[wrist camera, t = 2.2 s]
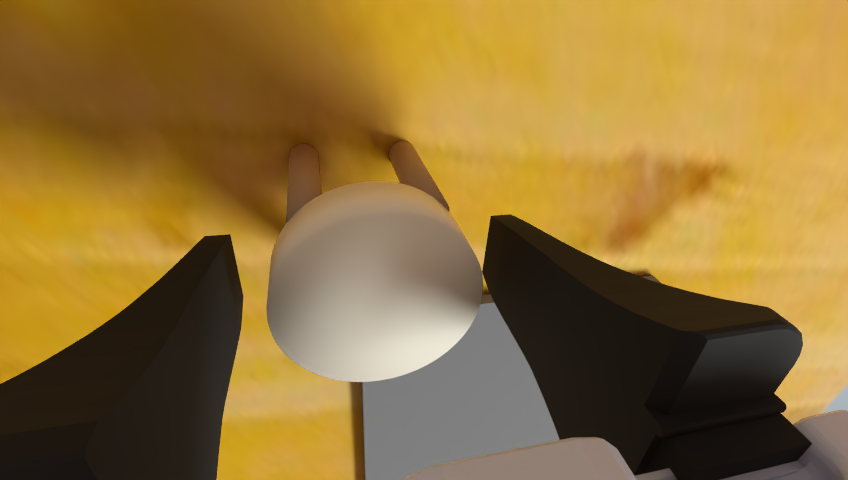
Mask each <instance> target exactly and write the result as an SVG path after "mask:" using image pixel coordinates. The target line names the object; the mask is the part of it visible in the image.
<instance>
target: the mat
mask: <svg viewBox="0 0 848 480" xmlns="http://www.w3.org/2000/svg"><path fill="white" fill-rule="evenodd" d="M642 277H643V278H645V279H649V280H652V281H655V282H658V283H660V282H659V281H658V280H657V279H656V278H655V277H654V276H653V275H651V276H642ZM362 411H363V442H364V473H365V480H403V479H404V478H405V477H407V476H408V475H410V474H412V473H415V472H418V471H421V470H424V469H427V468H429V467H432V466H435V465H438V464H442V463H447V462H452V461H457V460H462V459H467V458H472V457H477V456H482V455H487V454H492V453H497V452H502V451H507V450H512V449H517V448H523V447H528V446H533V445H538V444H543V443H548V442H553V441H558V440H560V439H559V437H558V434H557V431H556V428H555V426H554V423H553V421H552V418H551V416H550V413H549V411H548V408H547V406H546V403H545V400H544V398H543V396H542V393H541V391H540V389H539V386H538V384H537V382H536V379H535V377H534V375H533V372H532V370H531V368H530V366H529V364H528V362H527V360H526V358H525V356H524V355H523V353H522V351H521V349H520V347H519V346H518V344H517V342H516V340H515V339H514V337H513V335H512V333H511V332H510V330H509V328H508V326H507V325H506V323H505V321H504V319H503V318H502V316H501V314H500V312H499V310H498V308H497V307H496V305H495V303H494V301H493V299H492V297H491V294H484V295H482V299H481V303H480V307H479V310H478V312H477V315H476V317H475V319H474V321H473V322H472V324H471V326H470V327H469V329H468V330H467V332H466V333H465V334H464V336H463V337H462V338H461V339H460V340H459V341H458V342H457V343H456V344H455V345H454V346H453V347H452V348H451V349H450V350H449V351H447V352H446V353H445V354H443V355H442V356H441V357H439V358H438V359H436V360H435V361H433V362H431V363H430V364H428V365H426V366H424V367H422V368H420V369H418V370H416V371H413V372H410V373H408V374H405V375H402V376H398V377H395V378H391V379H385V380H380V381H371V382H362Z"/></svg>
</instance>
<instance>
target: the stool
mask: <svg viewBox="0 0 848 480" xmlns="http://www.w3.org/2000/svg"><path fill="white" fill-rule="evenodd" d="M389 159H390V161H391V163H392V165H393V168H394V170H395V172H396V174H397V177H398V179H399V181H400V183H396V182H389V181H364V182H356V183H352V184H347V185H343V186H340V187H337V188H335V189H332V190H329V191H327V192H325V193H323V194H322V189H321V179H320V169H319V158H318V153H317V151H316V150H315V149H314V148H313V147H312V146H310V145H308V144H299V145H296V146H295V147H293V148H292V150H291V151H290V155H289V174H288V195H287V216H286V224H285V226H284V227H283V229H282V231H281V232H280V234H279V236H278V238H277V240H276V243H275V245H274V248H273V252H272V256H271V266H270V276H269V287H268V298H267V320H268V324H269V327H270V331H271V333H272V335H273V337H274V339H275V341H276V343H277V344H278V346H279V347H280V349H281V350H282V351H283V352H284V353H285V354H286V355H287V356H288V357H289V358H290V359H291V360H292V361H294V362H295V363H296V364H298V365H299V366H301V367H303V368H304V369H306V370H308V371H310V372H312V373H315V374H317V375H320V376H323V377H327V378H330V379H335V380H340V381H350V382H371V381H380V380H385V379H391V378H395V377H398V376H402V375H405V374H408V373H410V372H413V371H416V370H418V369H420V368H422V367H424V366H426V365H428V364H430V363H431V362H433V361H435V360H436V359H438V358H439V357H441V356H442V355H443V354H445V353H446V352H447V351H449V350H450V349H451V348H452V347H453V346H454V345H455V344H456V343H457V342H458V341H459V340H460V339H461V338H462V337H463V336H464V334H465V333H466V332H467V330H468V329H469V327H470V326H471V324H472V322H473V321H474V319H475V317H476V315H477V312H478V310H479V307H480V303H481V299H482V293H483V278H482V272H481V268H480V264H479V262H478V260H477V258H476V255H475V253H474V252H473V250H472V248H471V247H470V245H469V243H468V242H467V240H466V238H465V236H464V235H463V233H462V231H461V230H460V228H459V226H458V225H457V223H456V221H455V220H454V218H453V217H452V215H451V214H450V212H449V206H448V204H447V202H446V201H445V199H444V197H443V196H442V194H441V192H440V191H439V189H438V187H437V186H436V184H435V182H434V181H433V179H432V177H431V176H430V174H429V172H428V171H427V169H426V167H425V166H424V164H423V162H422V161H421V159H420V157H419V155H418V154H417V152H416V150H415V149H414V147H413V146H412V144H410V143H409V142H407V141H399V142H396V143H395V144H393V145H392V146H391V148H390V150H389Z"/></svg>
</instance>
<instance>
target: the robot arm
mask: <svg viewBox="0 0 848 480" xmlns="http://www.w3.org/2000/svg"><path fill="white" fill-rule="evenodd" d="M482 273H483V275H484V278H485V281H486V284H487V287H488V289H489V292H490V294H491V297H492V299H493V301H494V303H495V305H496V307H497V308H498V310H499V312H500V314H501V316H502V318H503V319H504V321H505V323H506V325H507V326H508V328H509V330H510V332H511V333H512V335H513V337H514V339H515V340H516V342H517V344H518V346H519V347H520V349H521V351H522V353H523V355H524V356H525V358H526V360H527V362H528V364H529V366H530V368H531V370H532V372H533V375H534V377H535V379H536V382H537V384H538V386H539V389H540V391H541V393H542V396H543V398H544V400H545V403H546V406H547V408H548V411H549V413H550V416H551V418H552V421H553V423H554V426H555V428H556V431H557V434H558V437H559V439H560V440H558V441H553V442H548V443H543V444H538V445H533V446H528V447H523V448H517V449H512V450H507V451H502V452H497V453H492V454H487V455H482V456H477V457H472V458H467V459H462V460H457V461H452V462H447V463H442V464H438V465H435V466H432V467H429V468H427V469H424V470H421V471H418V472H415V473H412V474H410V475H408V476H407V477H405V478H404V479H403V480H848V411H845V410H838V411H833V412H828V413H824V414H819V415H814V416H810V417H806V418H804V419H801V420H800V421H798V422H796V423H795V424H794V425H792V424H791V423H790V422H789V421H788V420H787V419H786V418H785V417H784V416H783V415H782V414H781V412H784V411H785V410H786V404H785V403H784V402H783V401H782V400H781V399H780V398H779V397H777V396H776V395H775V394H774V392H775V391H776V389H777V388H778V387H779V385H780V384H781V382H782V381H783V380H784V378H785V377H786V376H787V374H788V373H789V371H790V370H791V369H792V367H793V366H794V364H795V363H796V361H797V359H798V357H799V356H800V353H801V349H802V346H803V341H802V334H801V332H800V331H799V330H798V329H797V328H796V327H795V326H794V325H792V324H791V323H790V322H788V321H787V320H786V319H784V318H783V317H782V316H780V315H779V314H778V313H776V312H775V311H774V310H772V309H770V308H768V307H764V306H758V305H752V304H747V303H741V302H736V301H730V300H724V299H719V298H715V297H710V296H706V295H702V294H698V293H694V292H689V291H686V290H682V289H678V288H675V287H671V286H668V285H664V284H661V283H658V282H655V281H652V280H649V279H645V278H643V277H640V276H637V275H634V274H631V273H629V272H626V271H624V270H621V269H619V268H616V267H614V266H611V265H609V264H606V263H604V262H602V261H600V260H597V259H595V258H593V257H591V256H589V255H587V254H585V253H583V252H581V251H579V250H577V249H575V248H573V247H571V246H569V245H567V244H565V243H563V242H561V241H560V240H558V239H556V238H554V237H552V236H550V235H549V234H547V233H545V232H543V231H541V230H540V229H538V228H536V227H534V226H532V225H531V224H529V223H527V222H525V221H523V220H521V219H519V218H517V217H515V216H512V215H498V216H491V219H490V225H489V232H488V238H487V245H486V251H485V258H484V264H483V271H482ZM242 308H243V293H242V288H241V283H240V279H239V274H238V269H237V264H236V260H235V255H234V250H233V245H232V241H231V236H230V235H217V236H205V237H204V238H202V239H201V240H200V241H199V242H198V243H197V244H196V245H195V246H194V247H193V248H192V249H191V250H190V251H189V252H188V253H187V254H186V255H185V256H184V257H183V258H182V259H181V260H180V261H179V262H178V263H177V264H176V265H175V266H174V267H173V268H172V269H170V270H169V271H168V272H167V273H166V274H165V275H164V276H163V277H162V278H161V279H160V280H159V281H157V282H156V283H155V284H154V285H153V286H152V287H150V288H149V289H148V290H147V291H146V292H144V293H143V294H142V295H141V296H140V297H139V298H137V299H136V300H135V301H134V302H133V303H131V304H130V305H129V306H128V307H126V308H125V309H124V310H122V311H121V312H120V313H118V314H117V315H116V316H114V317H113V318H112V319H110V320H109V321H107V322H106V323H104V324H103V325H102V326H100V327H99V328H97V329H96V330H94V331H93V332H91V333H90V334H88V335H87V336H85V337H83V338H82V339H80V340H78V341H77V342H75V343H73V344H72V345H70V346H69V347H67V348H65V349H64V350H62V351H60V352H59V353H57V354H55V355H54V356H52V357H50V358H49V359H47V360H45V361H43V362H42V363H40V364H38V365H36V366H34V367H32V368H31V369H29V370H27V371H25V372H23V373H21V374H19V375H17V376H16V377H14V378H12V379H10V380H8V381H6V382H4V383H2V384H0V480H216V478H217V466H218V455H219V445H220V435H221V426H222V417H223V411H224V406H225V400H226V396H227V391H228V387H229V382H230V377H231V373H232V368H233V364H234V359H235V355H236V350H237V345H238V341H239V336H240V331H241V322H242Z"/></svg>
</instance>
